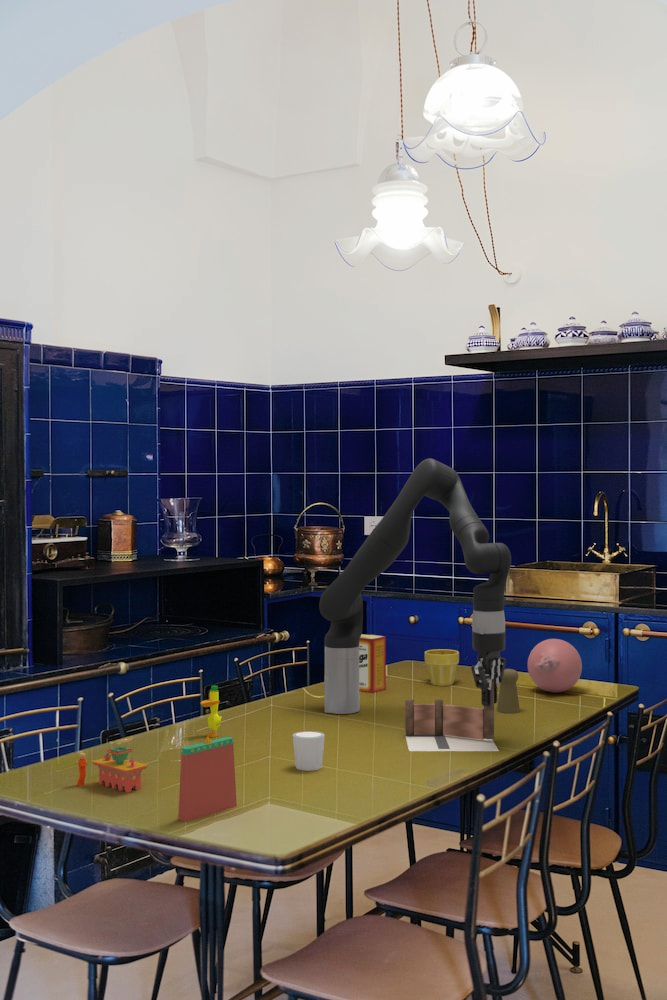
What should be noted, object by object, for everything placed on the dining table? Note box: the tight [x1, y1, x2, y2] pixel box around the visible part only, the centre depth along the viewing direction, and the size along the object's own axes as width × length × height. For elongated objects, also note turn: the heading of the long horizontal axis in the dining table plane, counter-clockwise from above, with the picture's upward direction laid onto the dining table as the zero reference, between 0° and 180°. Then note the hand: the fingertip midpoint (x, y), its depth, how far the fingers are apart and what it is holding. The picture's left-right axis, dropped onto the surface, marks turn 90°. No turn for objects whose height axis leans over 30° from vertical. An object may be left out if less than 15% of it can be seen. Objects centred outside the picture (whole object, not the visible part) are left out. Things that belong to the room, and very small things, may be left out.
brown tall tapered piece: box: [496, 668, 521, 714], centre depth 283 cm, size 6×6×11 cm
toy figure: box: [200, 685, 222, 738], centre depth 255 cm, size 7×4×12 cm, turn 141°
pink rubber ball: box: [527, 638, 583, 694], centre depth 307 cm, size 15×20×15 cm
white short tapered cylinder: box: [292, 730, 326, 772], centre depth 227 cm, size 7×7×7 cm
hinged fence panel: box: [443, 680, 495, 740], centre depth 250 cm, size 12×2×14 cm, turn 61°
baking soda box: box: [359, 633, 387, 694], centre depth 314 cm, size 10×6×16 cm
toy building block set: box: [76, 736, 238, 823], centre depth 206 cm, size 12×35×14 cm, turn 49°
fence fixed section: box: [404, 698, 444, 737], centre depth 254 cm, size 9×2×8 cm, turn 89°
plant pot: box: [424, 648, 460, 687], centre depth 323 cm, size 10×10×10 cm
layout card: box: [404, 734, 500, 752], centre depth 248 cm, size 20×18×1 cm
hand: (489, 703), depth 247 cm, fingers closed on hinged fence panel, 2 cm apart
